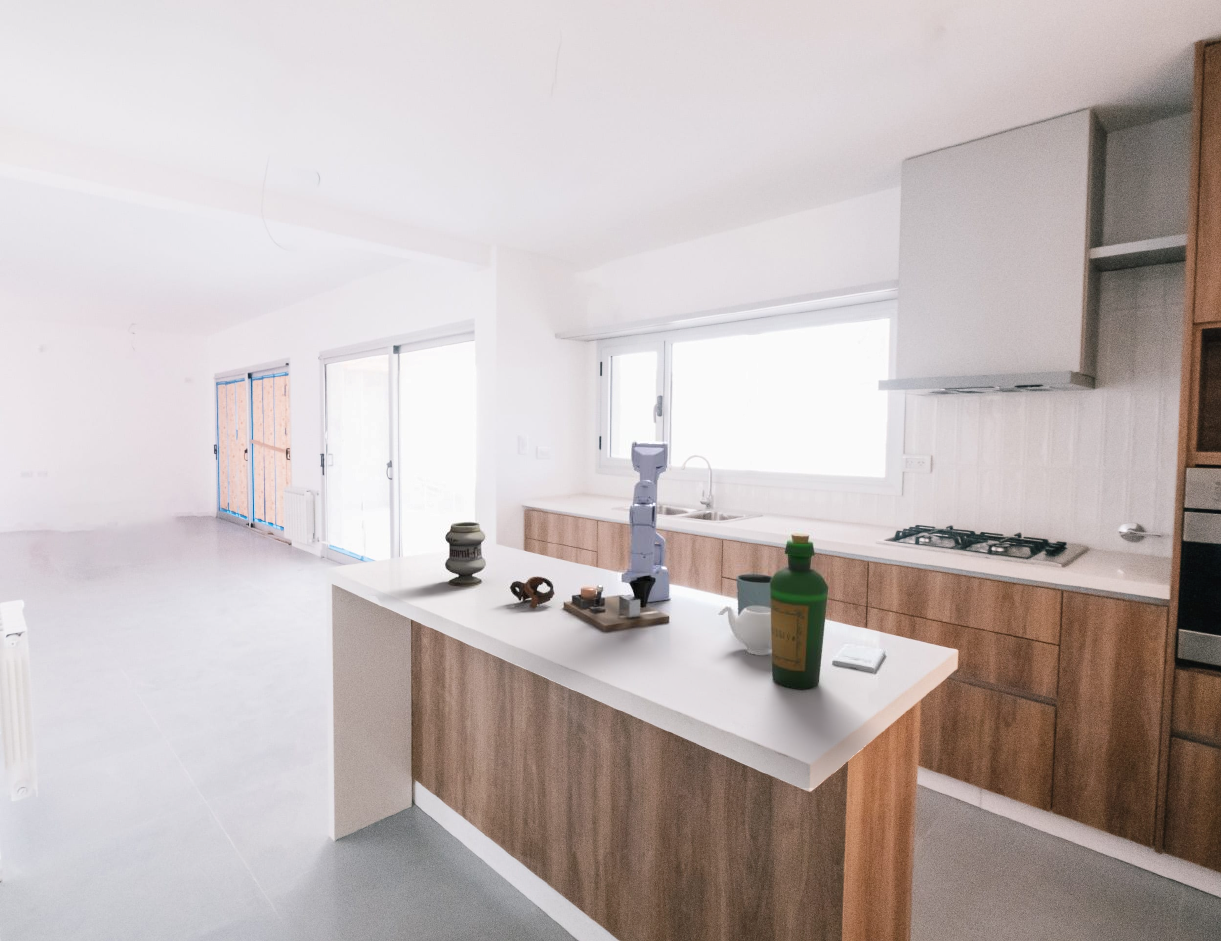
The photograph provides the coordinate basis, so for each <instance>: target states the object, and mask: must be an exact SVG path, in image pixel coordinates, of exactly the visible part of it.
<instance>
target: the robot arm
mask: <svg viewBox="0 0 1221 941" xmlns="http://www.w3.org/2000/svg"><path fill="white" fill-rule="evenodd" d="M668 448H669V443H668V442H667V441H637V440H634V441H633V442H632V443H631V448H630V449H631V454H630V455H631V456H630V458H631V463H632V468H633V469H634V471H635V472H637V473H639V481H637V483H635V485H634V490H633V498H632V505H630V507H629V513H628V514H629V517H628V519H629V520H628V521H629V526H630V528H629V532H630V533H629V534H631V536H630V546H629V563H630V567H627V569H626V570H627V571H626V572H624V573H621V583H625V584H628V585H629V586H630V588H631V590H632V592H633V593H632V594H631V593H630V594H629V595H631V596H634V597H636V598H638V599H640V607H642V608H644V607H646V606H648V605H647V604H648V603H651V602H652V603H653V602H659V601H666V600H667V601H668V600H671V599H672V598H671V597H670V573H669V570H668V568H667V567H666V566H665V565H666V554H667V553H666V548H667V547H666V540H665V537H663V536H662V535H661V534H660V533H658V531H657V520H658V519H657V518H658V516H657V515H658V512H657V511H658V507H657V506H658V483H659V482H658V481H659V478H660V474H663V473H664V472H667V469H668V459H669V458H668V456H669V454H668V453H669V449H668Z"/></svg>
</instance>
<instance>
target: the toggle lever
mask: <svg viewBox="0 0 1221 941" xmlns="http://www.w3.org/2000/svg"><path fill="white" fill-rule="evenodd" d="M595 588H596V594H597V595H596V602H595V603H596V604H593V607H601V606H602V604H601V603H600V601H601V597H602V594H603V591H604V586H603V585H596V587H595Z"/></svg>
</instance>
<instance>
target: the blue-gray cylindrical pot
mask: <svg viewBox="0 0 1221 941" xmlns="http://www.w3.org/2000/svg"><path fill="white" fill-rule="evenodd" d="M772 577H773V575H772V576H771V575H765V574H758V573H757V574H755V573H753V574H752V573H748V574H740V575H737V576H736V590H737V592H736V596H737V614H738V615H737V617H738V616H739V615H740V613H741V612H742V610H743V609H744V608H746V607H748V606H764V607H768V608H771V605H770V580H771V578H772Z"/></svg>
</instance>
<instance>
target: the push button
mask: <svg viewBox="0 0 1221 941" xmlns="http://www.w3.org/2000/svg"><path fill="white" fill-rule="evenodd" d="M596 588H597V587H591V586H585V587H581V588H580V594H581V598H582V599H584V600H586V599H594V598H596V594H597V590H596Z"/></svg>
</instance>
